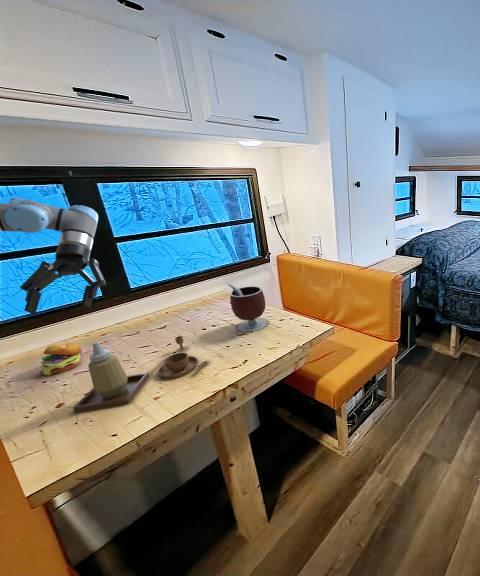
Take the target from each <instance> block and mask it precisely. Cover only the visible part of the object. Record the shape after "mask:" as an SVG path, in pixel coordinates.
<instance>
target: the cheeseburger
mask: <svg viewBox="0 0 480 576" xmlns="http://www.w3.org/2000/svg"><path fill="white" fill-rule="evenodd" d="M81 353H82V348H81V346H80V345H79V344H77V343H67V344H66V345H61V344H53V345H49V346H47V347H46V348H45V349H44V351H43V355H45V356H43V357H42V358H41V362H40V364H41V366H40V369H41V370H42V373H43V375H45V376H52V375H54V374H58V373H59V374H60V373H62V372H64V371H68V370H71V369H73V368H75V367H77V366H78V365H79V364H80V357H81Z"/></svg>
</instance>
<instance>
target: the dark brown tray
mask: <svg viewBox="0 0 480 576" xmlns="http://www.w3.org/2000/svg"><path fill="white" fill-rule="evenodd" d="M127 377H128V379H127V389H126V390H125V392H123V393H122V394H120V395H118V396H116V397H112V398H104V397H102V396H101V395H100V394H99V393H98V392H96V391H95V390H94V387H93V386H92V388H91V389H90V390H89V391H88V392H87V393H86V394H85V395H84V396H83V397H82V398H81V399H80V400H79V401H78V402H77V403H76V404H75V405H74V406H73V407H72V409H73V411H74V413H79V412H86V411H91V410H96V409H97V410H98V409H102V408H103V409H104V408H109V407H115V406H122V405H127V404H130V402H131V401H132V400H133V399H134V398H135V396H136V395H137V394H138V392H140V390H141V388H142V387H143V386H144V384H145V383H146V382H147V380H148V379H149V378H150V374H149V372H143V373H137V374H131V375H127Z"/></svg>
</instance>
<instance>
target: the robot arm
mask: <svg viewBox="0 0 480 576" xmlns="http://www.w3.org/2000/svg"><path fill="white" fill-rule="evenodd" d="M98 223H99V214H98V212H97V211H95V209H93V208H91V207H88V206H85V205H82V204H81V205H78V204H76V205H75V204H74V205H71V206H70V207H68V208H67V209H66V208H61V207H57V206H54V205H49V204H45V203H43V202H42V203H41V202H37V201H33V200H31V199H25V198H20V197H12V198H10V199H9V201H8V202H7V203H6V202H5V203H4V202H3V203H0V232H19V233H26V234H32V233H34V234H35V233H40V232H41V231H44V230H49V231H50V230H51V231H56V232H61V234H60V237H59V241H58V243H57V245H58V246H57V248H56V251H55V254H54V256H55V260H54V261H53V262H47V261H46V260H44V261H43V260H42V261H41V262H40V265H39V267H38V268H37V269H35V271H34V272H33V273H32V274H31V275H29V277H28V278H27V279H26V280H25V281H24V282H23V283H22V284H21V285H20V286H19V289H20V290H22V291H24V292H26V296H25V299H24V300H25V302H26V304H25V307H24V312H27V313H29V314H32V315H36V314H37V311H38V307H39V304H40V301H41V297H42V293H41V291H43V290H44V289H45V288H46V287H48V286H50V284H52V283H53V282H55V281H56V280H57V279H61V278H62V277H67V276H77V275H79V276H80V277H81V278H82V279H83V280H85V282H86V283H87V284H88V285H85V287H84V292H83V296H82V300H81V305H80V306H82V307H83V308H86V309H91V308H92V303H93V299H94V298H96V296H97V294H98V289H99V288H100V287H105V286H107V282H106V280H105V278H104V275H103V274H102V271H101V269H100V262H99V261H98V260H96V259H95V258H94V257H91V251H92V248H93V244H94V238H95V235H96V231H97V228H98ZM90 257H91V258H90ZM87 267H89V268H90V271H91V273H92V275H93V277H94V279H95V280H94V279H93V278H92V277H91V276H90V275H89V274H88V272H86V271H85V269H86V268H87ZM56 272H57V273H56Z"/></svg>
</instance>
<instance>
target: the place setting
mask: <svg viewBox="0 0 480 576" xmlns="http://www.w3.org/2000/svg"><path fill="white" fill-rule="evenodd" d="M174 340H175V343H176V344H177V345H179V349H180V350H179V351H180V352H178V353H174V354H171V355H169V356H167V357H166V358H165V359H164V360H163V361H162V362H164V364H162V365H161V366H160V367H159V368H158V369H157V373H158V375H159V376H160V377H162V378H164V379H175V378H179V377H182V376H185V375H187V374H189V373H191V372H192V371H193V370H195V369H196V368H197V366H198V364H199V359H198V357H196V356H192V355H189V354H188V353H187V352H183V351H185V348H184V346H183V344H184V341H185V340H184V337H183V336H182V335H178V336H175V338H174ZM207 363H208V361H207V360H204V361H203V362H201V363H200V365H199V368H198V369H197V370H196V371H195V372H194V373H193V375H192V376H193V377H194V376H196V375H197V374H198V372H199V371H200V370H201V368H203V367H205V366H206V365H207ZM177 372H178V373H177ZM167 373H168V375H167ZM169 373H175V374H169Z"/></svg>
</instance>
